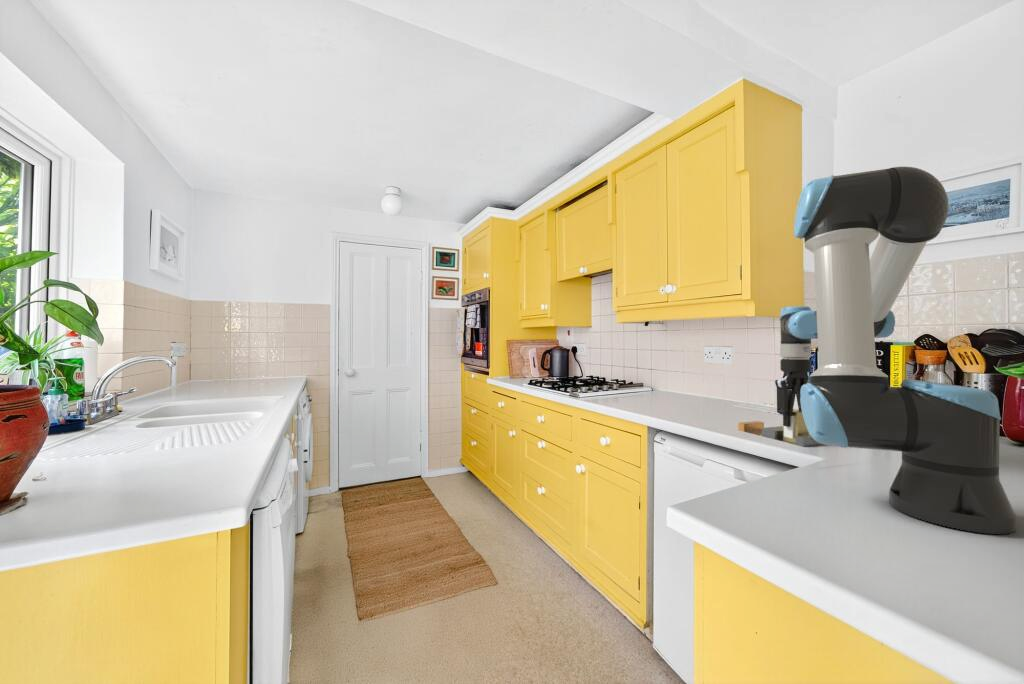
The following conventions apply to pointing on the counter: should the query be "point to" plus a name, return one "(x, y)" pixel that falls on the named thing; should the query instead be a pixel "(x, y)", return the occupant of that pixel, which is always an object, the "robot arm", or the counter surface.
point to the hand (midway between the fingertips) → (795, 436)
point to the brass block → (797, 426)
